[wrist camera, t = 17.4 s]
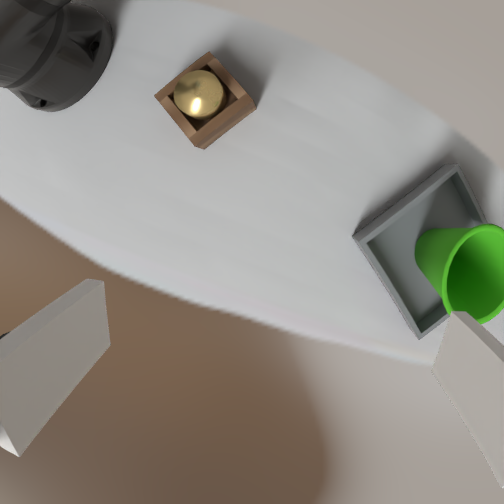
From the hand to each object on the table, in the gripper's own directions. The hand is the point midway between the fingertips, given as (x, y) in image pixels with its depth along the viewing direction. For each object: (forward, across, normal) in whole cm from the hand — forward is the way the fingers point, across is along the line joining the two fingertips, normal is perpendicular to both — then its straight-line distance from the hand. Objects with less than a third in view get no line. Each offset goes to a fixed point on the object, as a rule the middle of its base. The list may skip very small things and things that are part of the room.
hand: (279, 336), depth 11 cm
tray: (+24, +18, -1) cm, 30 cm away
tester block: (+25, -8, +12) cm, 29 cm away
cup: (+23, +18, -1) cm, 30 cm away
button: (+22, -8, +12) cm, 26 cm away
